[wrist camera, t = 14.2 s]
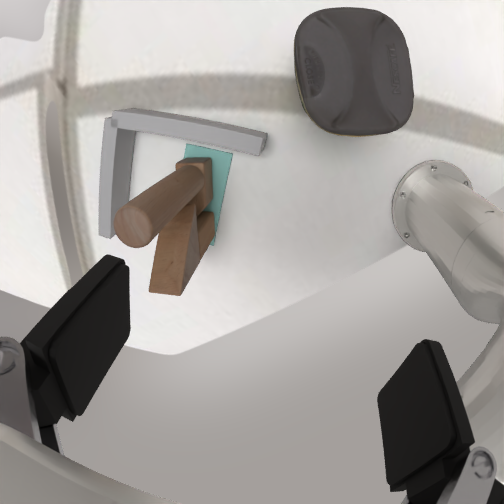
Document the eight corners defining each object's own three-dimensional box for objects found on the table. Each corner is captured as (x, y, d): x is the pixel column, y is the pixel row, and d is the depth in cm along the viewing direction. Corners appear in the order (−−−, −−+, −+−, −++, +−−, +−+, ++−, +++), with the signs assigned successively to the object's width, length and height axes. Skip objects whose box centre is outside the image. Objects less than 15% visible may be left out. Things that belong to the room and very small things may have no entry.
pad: (232, 153, 36) (232, 154, 36) (213, 245, 43) (213, 245, 42) (186, 143, 36) (186, 143, 36) (173, 234, 43) (172, 234, 43)
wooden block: (190, 234, 42) (132, 316, 26) (184, 157, 37) (106, 204, 21) (216, 235, 42) (168, 322, 26) (212, 156, 37) (148, 204, 21)
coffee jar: (290, 47, 29) (282, -3, 13) (357, 44, 28) (410, -2, 12) (301, 125, 34) (305, 147, 17) (367, 121, 32) (429, 143, 16)
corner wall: (267, 133, 35) (263, 138, 30) (237, 255, 43) (230, 274, 38) (126, 107, 35) (105, 110, 30) (116, 221, 43) (98, 235, 39)
